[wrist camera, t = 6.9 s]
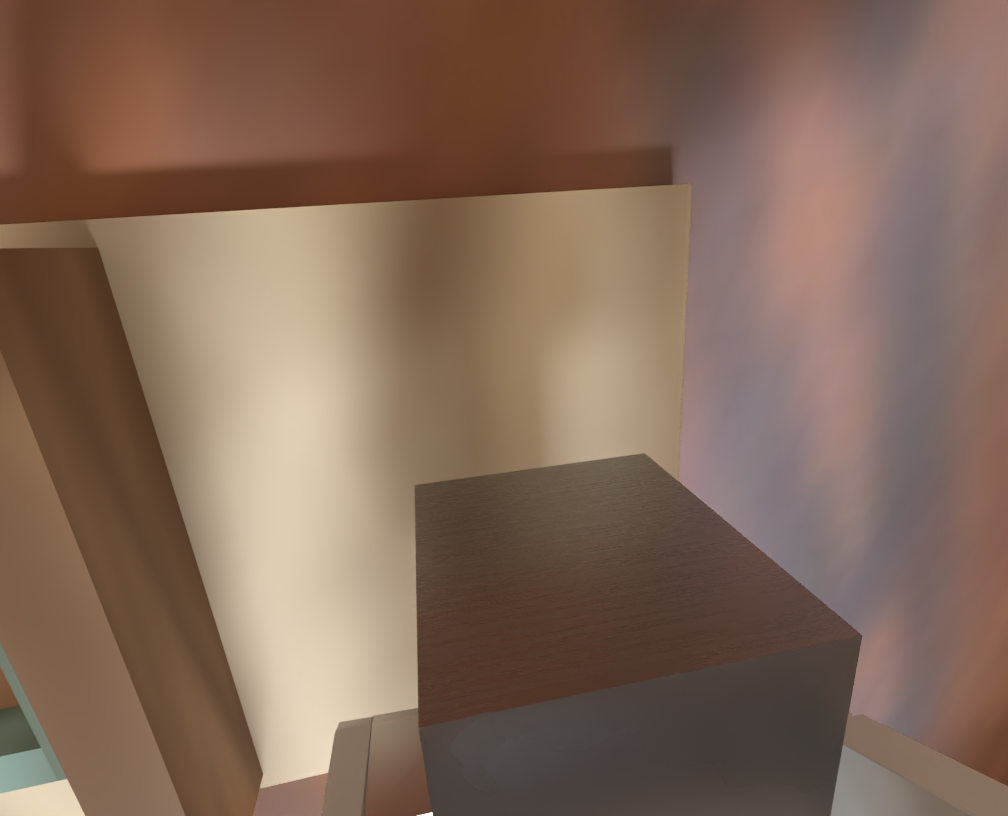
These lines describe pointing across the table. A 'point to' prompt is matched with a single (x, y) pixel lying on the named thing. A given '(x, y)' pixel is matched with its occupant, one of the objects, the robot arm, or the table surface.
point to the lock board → (285, 461)
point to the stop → (617, 653)
